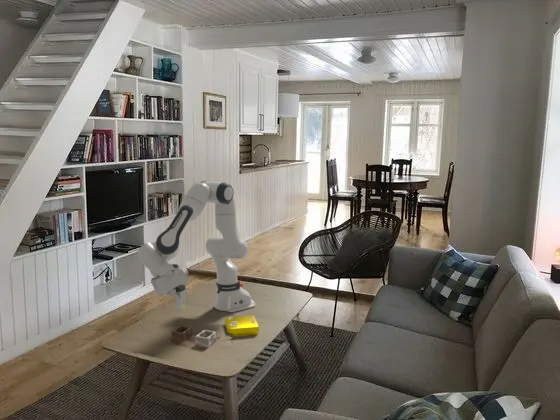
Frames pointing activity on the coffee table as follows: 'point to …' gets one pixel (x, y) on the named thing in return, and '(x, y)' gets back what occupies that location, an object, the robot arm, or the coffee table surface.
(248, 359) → the coffee table surface
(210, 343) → the caddy
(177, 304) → the brushed metal bar
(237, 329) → the element tile
